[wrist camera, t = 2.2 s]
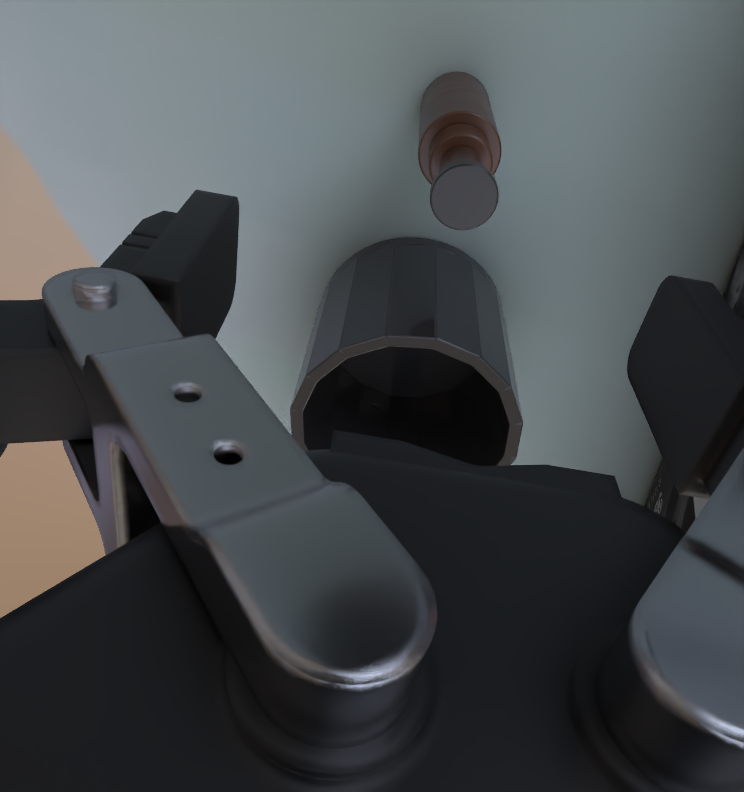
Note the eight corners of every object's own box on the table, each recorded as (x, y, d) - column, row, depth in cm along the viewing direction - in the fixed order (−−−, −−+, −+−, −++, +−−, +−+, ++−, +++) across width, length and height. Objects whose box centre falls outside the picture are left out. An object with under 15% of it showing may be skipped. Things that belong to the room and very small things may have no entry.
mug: (362, 205, 30) (342, 297, 23) (538, 284, 31) (567, 393, 25) (274, 401, 36) (238, 518, 30) (422, 458, 38) (420, 581, 31)
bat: (486, 65, 26) (511, 142, 18) (491, 138, 28) (515, 237, 20) (416, 77, 26) (409, 156, 18) (424, 147, 28) (421, 249, 20)
